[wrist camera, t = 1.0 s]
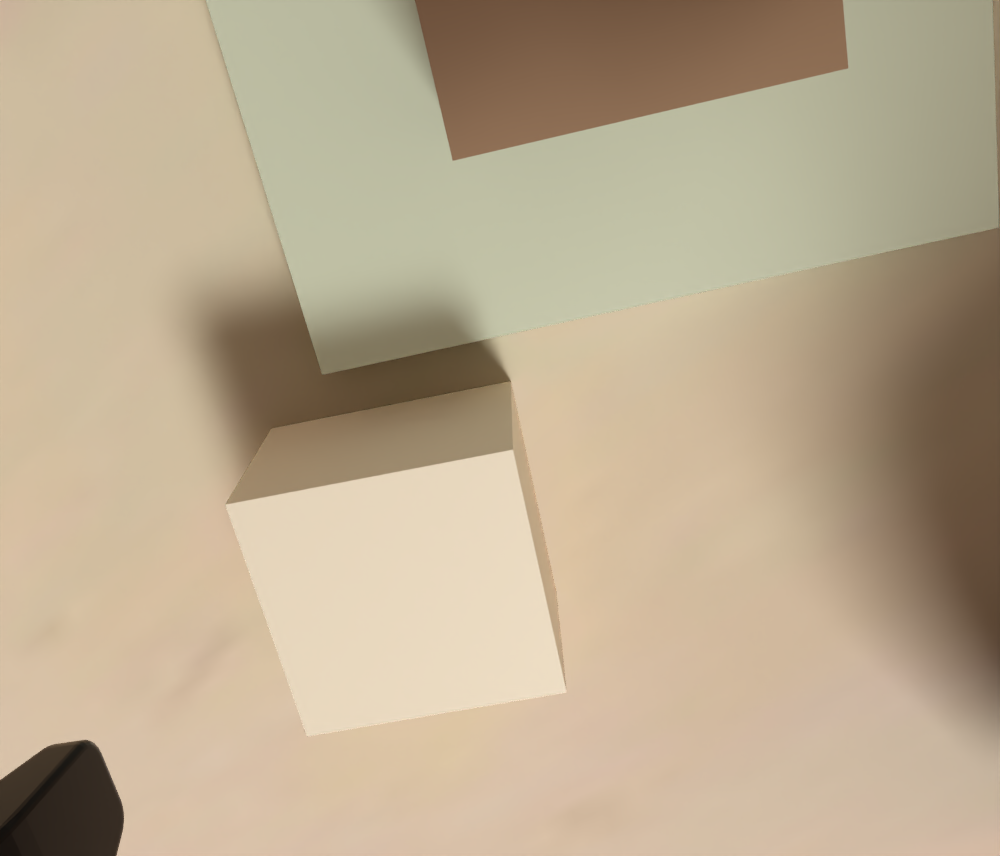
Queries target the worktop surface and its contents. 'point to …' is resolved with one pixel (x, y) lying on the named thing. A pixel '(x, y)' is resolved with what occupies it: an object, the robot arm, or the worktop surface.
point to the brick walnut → (611, 60)
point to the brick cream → (402, 560)
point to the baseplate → (594, 175)
